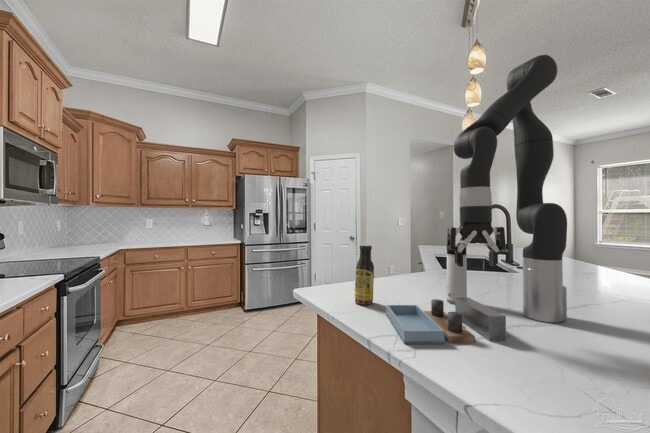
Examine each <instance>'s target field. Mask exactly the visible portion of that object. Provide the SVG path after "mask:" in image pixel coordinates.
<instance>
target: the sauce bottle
mask: <svg viewBox="0 0 650 433" xmlns="http://www.w3.org/2000/svg"><path fill="white" fill-rule="evenodd" d="M372 248H373V247H372V245H370V244H360V245H359V259H358V260H357V263H356V268H355V279H354V280H355V282H354V283H355V284H354V302H355V303H356V304H358V305H361V306H362V305H363V306H369V305H372V304H373V301H374V285H375V284H374V280H375V272H374V271H375V266H374V263H373V260H372Z"/></svg>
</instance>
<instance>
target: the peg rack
mask: <svg viewBox="0 0 650 433" xmlns="http://www.w3.org/2000/svg"><path fill="white" fill-rule="evenodd" d="M430 302H431V304H430V305H431V306H430V307H431V310H423V311H424V312H425V313H426V314H427V315H428V316H429V317H430V318H431V319H432V320H433V321H434V322H435V323H436V324H437V325H439V326H440V327H441V328H442V329H443V330H444V340H446V341H447V343H449V344H450V343H453V344H454V343H455V344H457V343H459V344H460V343H466V344H469V343H470V344H472V343H476V335H474V333H472V332H471V331H469V330H468V329H466V328H465V327H464V326H463V323H462V314H461V313H458V312H455V311H448V312H445V311H444V309H445V308H444V300H441V299H438V298H437V299H436V298H434V299H431V301H430Z"/></svg>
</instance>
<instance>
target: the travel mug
mask: <svg viewBox="0 0 650 433" xmlns="http://www.w3.org/2000/svg"><path fill="white" fill-rule="evenodd" d="M456 245H457V244H455V246H456ZM462 253H463V267H459V266H457V264H455V252H454V251H453V250H450V249H448V248H447V247H446V301H447V303H449V304H451V305H455V298H468V290H467V288H468V283H467V281H468V275H467V274H468V269H467V267H468V266H467V265H468V263H467V254H468V253H467V246H466V247H465V248H464V249H463V251H462Z"/></svg>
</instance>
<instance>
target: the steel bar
mask: <svg viewBox="0 0 650 433" xmlns="http://www.w3.org/2000/svg"><path fill="white" fill-rule="evenodd" d="M454 306H455V310H454V312H458V313H461V314H462V324H464V325H465V326H467V327H468V328H469V329H471V330H472V331H473V332H475V333H477V334H478V335H479V336H481V337H482V338H484V339H485V340H487V341H488V342H506V341H507V327H506V326H507V320H506V319H507V317H506V316H507V315H504V314H502V313H500V312H498V311H497V310H494V309H492V308H490V307H488V306H486V305H484V304H483V303H480V302H479V301H476V300H475V299H473V298H470V297H467V298H455V304H454Z"/></svg>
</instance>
